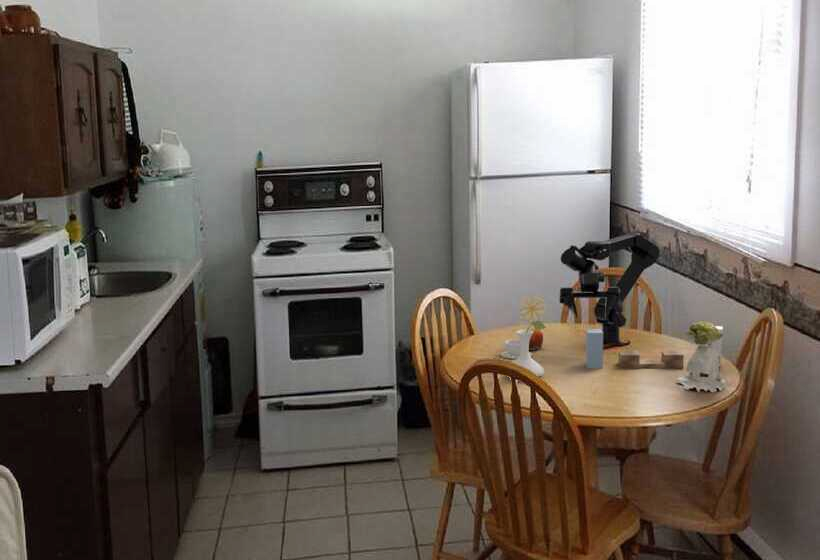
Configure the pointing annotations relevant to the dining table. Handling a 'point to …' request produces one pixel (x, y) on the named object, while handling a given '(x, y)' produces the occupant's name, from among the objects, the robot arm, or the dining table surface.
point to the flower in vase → (530, 311)
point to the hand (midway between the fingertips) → (591, 317)
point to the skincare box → (718, 344)
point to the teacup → (512, 348)
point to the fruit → (535, 339)
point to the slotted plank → (651, 360)
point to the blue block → (594, 348)
